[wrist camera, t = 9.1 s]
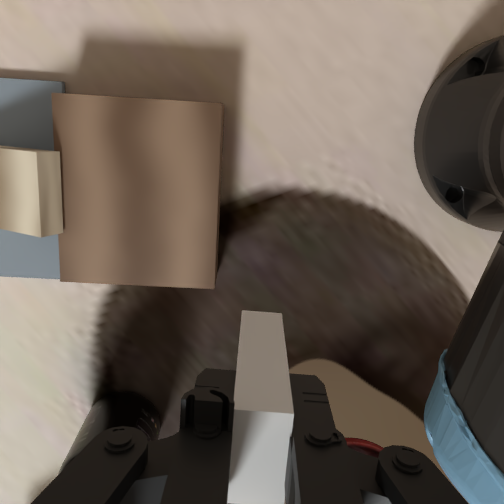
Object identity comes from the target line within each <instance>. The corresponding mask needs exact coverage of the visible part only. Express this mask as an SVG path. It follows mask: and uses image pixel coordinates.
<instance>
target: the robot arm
mask: <svg viewBox="0 0 504 504" xmlns="http://www.w3.org/2000/svg"><path fill="white" fill-rule="evenodd" d="M414 153H415V160H416V166H417V169H418V173H419V175H420V178H421V180H422V183H423V185H424V187H425V188H426V190H427V192H428V193H429V195H430V196H431V197H432V199H433V200H434V201H435V202H436V203H437V204H438V205H439V206H440V207H441V208H442V209H443V210H445V211H446V212H447V213H449V214H450V215H452V216H453V217H455V218H457V219H459V220H461V221H464V222H466V223H468V224H471V225H473V226H476V227H479V228H482V229H486V230H491V231H499V232H502V235H501V237H500V239H499V241H498V243H497V245H496V247H495V249H494V251H493V253H492V256H491V258H490V260H489V262H488V264H487V266H486V268H485V271H484V273H483V275H482V277H481V279H480V281H479V284H478V286H477V288H476V290H475V292H474V294H473V296H472V299H471V301H470V303H469V305H468V307H467V309H466V312H465V314H464V316H463V318H462V320H461V322H460V325H459V327H458V329H457V331H456V333H455V335H454V337H453V340H452V342H451V344H450V346H449V348H448V349H445V350H444V352H443V353H442V355H441V357H440V360H439V364H438V365H439V368H438V374H437V376H436V379H435V381H434V384H433V386H432V389H431V391H430V394H429V397H428V399H427V402H426V405H425V410H424V425H425V430H426V434H427V437H428V440H429V442H430V444H431V445H432V447H433V451H434V455H435V457H436V459H437V461H438V462H439V464H440V465H441V467H442V469H443V471H444V472H445V474H446V475H447V477H448V478H449V479H450V481H451V482H452V483H453V485H454V486H455V487H456V488H457V490H458V491H459V492H460V493H461V495H462V496H463V497H464V498H465V499H466V500H467V501H468V503H469V504H504V36H501V37H498V38H495V39H492V40H489V41H487V42H484V43H482V44H479V45H477V46H475V47H473V48H472V49H470V50H468V51H467V52H465V53H464V54H462V55H461V56H460V57H458V58H457V59H456V60H454V61H453V62H452V63H451V64H450V65H449V66H448V67H447V68H446V69H445V70H444V71H443V72H442V73H441V75H440V76H439V77H438V78H437V80H436V81H435V82H434V84H433V85H432V87H431V88H430V90H429V92H428V94H427V95H426V98H425V100H424V102H423V104H422V107H421V109H420V112H419V115H418V119H417V123H416V128H415V137H414ZM453 485H452V484H451V483H450V482H449V481H448V479H447V478H446V477H445V476H444V475H443V474H442V472H441V471H440V470H439V469H438V468H437V467H436V466H435V464H434V463H433V462H432V461H431V460H430V459H429V458H427V457H426V456H425V455H424V454H423V453H421V452H419V451H417V450H415V449H412V448H409V447H405V446H394V445H392V446H389V447H385V448H384V449H382V450H381V451H380V452H379V458H376V457H373V456H369V455H366V454H363V453H360V452H358V451H355V450H353V449H352V448H350V447H348V445H347V442H346V439H345V438H344V436H343V434H341V433H340V432H339V431H338V430H336V428H335V424H334V421H333V416H332V413H331V409H330V405H329V401H328V397H327V393H326V389H325V385H324V384H323V383H322V382H321V381H320V380H319V379H318V377H317V376H315V375H301V374H289V369H288V361H287V353H286V345H285V337H284V329H283V321H282V313H269V312H256V311H243V310H242V317H241V328H240V338H239V349H238V359H237V369H236V371H234V370H221V369H208V368H206V369H205V370H203V371H202V372H201V373H200V374H199V375H198V376H197V379H196V383H195V387H194V389H192V390H190V391H188V392H187V393H185V394H184V396H183V397H182V399H181V415H180V430H179V432H178V433H176V434H175V435H173V436H170V437H168V438H164V439H160V440H154V441H148V440H147V436H146V435H145V434H144V433H143V432H142V431H141V430H139V429H136V428H134V427H126V426H121V427H113V428H110V429H107V430H105V431H102V432H101V433H99V434H98V435H97V436H95V437H94V438H93V439H92V440H91V441H90V442H89V443H88V444H87V445H86V447H85V448H84V449H83V450H82V451H81V452H80V453H79V454H78V455H77V456H76V457H75V458H74V459H73V460H72V461H71V462H70V463H69V464H68V465H67V466H66V467H65V469H64V470H63V471H62V472H61V473H60V474H59V475H58V476H57V477H56V478H55V479H54V480H53V481H52V482H51V483H50V484H49V485H48V486H47V487H46V488H45V489H44V491H43V492H42V493H41V494H40V495H39V496H38V497H37V498H36V499H35V500H34V501H33V502H32V503H31V504H227V503H234V504H284V499H285V500H286V504H468V503H467V502H466V500H465V499H464V498H463V497H462V496H461V495H460V493H459V492H458V491H457V490H456V489H455V488H454V486H453Z"/></svg>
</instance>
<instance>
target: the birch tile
mask: <svg viewBox="0 0 504 504" xmlns="http://www.w3.org/2000/svg"><path fill="white" fill-rule="evenodd" d="M0 229H3V230H8V231H13V232H17V233H22V234H27V235H31V236H36V237H46V236H51V235H56V234H60V233H63V215H62V192H61V169H60V152H59V151H49V150H39V149H30V148H20V147H10V146H1V145H0Z"/></svg>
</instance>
